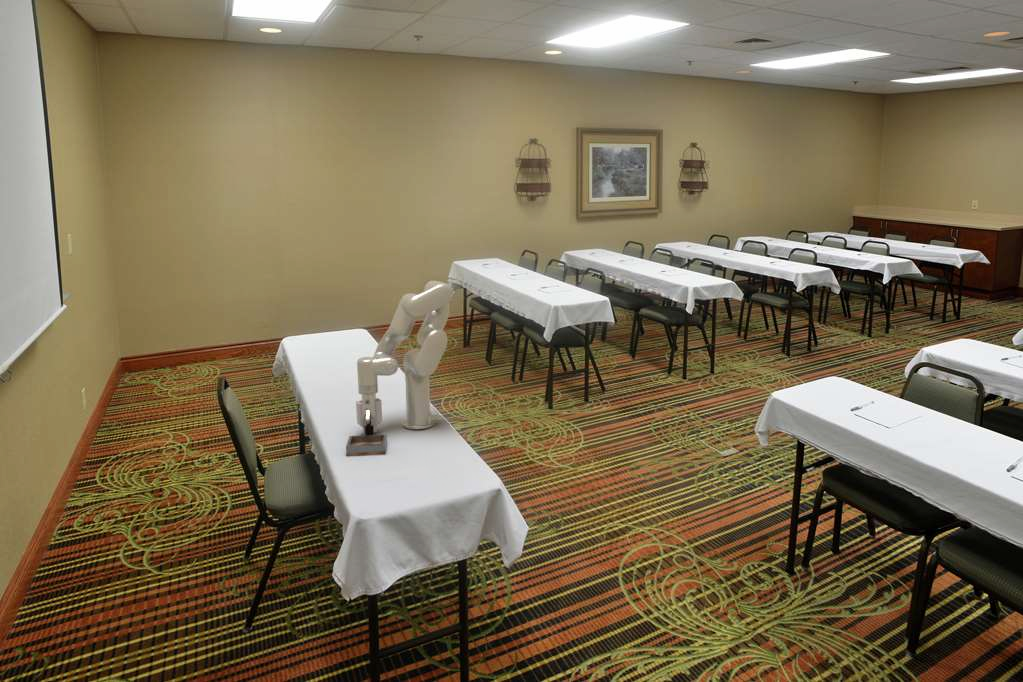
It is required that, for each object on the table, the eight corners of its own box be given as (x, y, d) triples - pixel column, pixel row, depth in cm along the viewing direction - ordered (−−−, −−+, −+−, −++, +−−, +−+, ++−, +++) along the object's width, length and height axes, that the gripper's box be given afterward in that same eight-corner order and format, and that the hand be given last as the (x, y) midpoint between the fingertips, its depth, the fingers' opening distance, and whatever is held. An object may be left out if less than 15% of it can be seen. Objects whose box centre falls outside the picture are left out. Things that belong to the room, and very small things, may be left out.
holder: (387, 443, 255) (386, 434, 254) (385, 454, 243) (384, 444, 243) (350, 445, 253) (349, 435, 253) (346, 456, 242) (345, 446, 241)
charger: (383, 437, 262) (382, 400, 260) (361, 441, 258) (359, 404, 255) (379, 433, 266) (378, 397, 264) (357, 437, 262) (355, 401, 259)
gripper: (376, 394, 250) (378, 439, 254) (379, 382, 267) (381, 425, 271) (356, 395, 249) (358, 440, 253) (360, 383, 266) (362, 426, 270)
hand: (370, 432), depth 262 cm, fingers closed on charger, 6 cm apart
